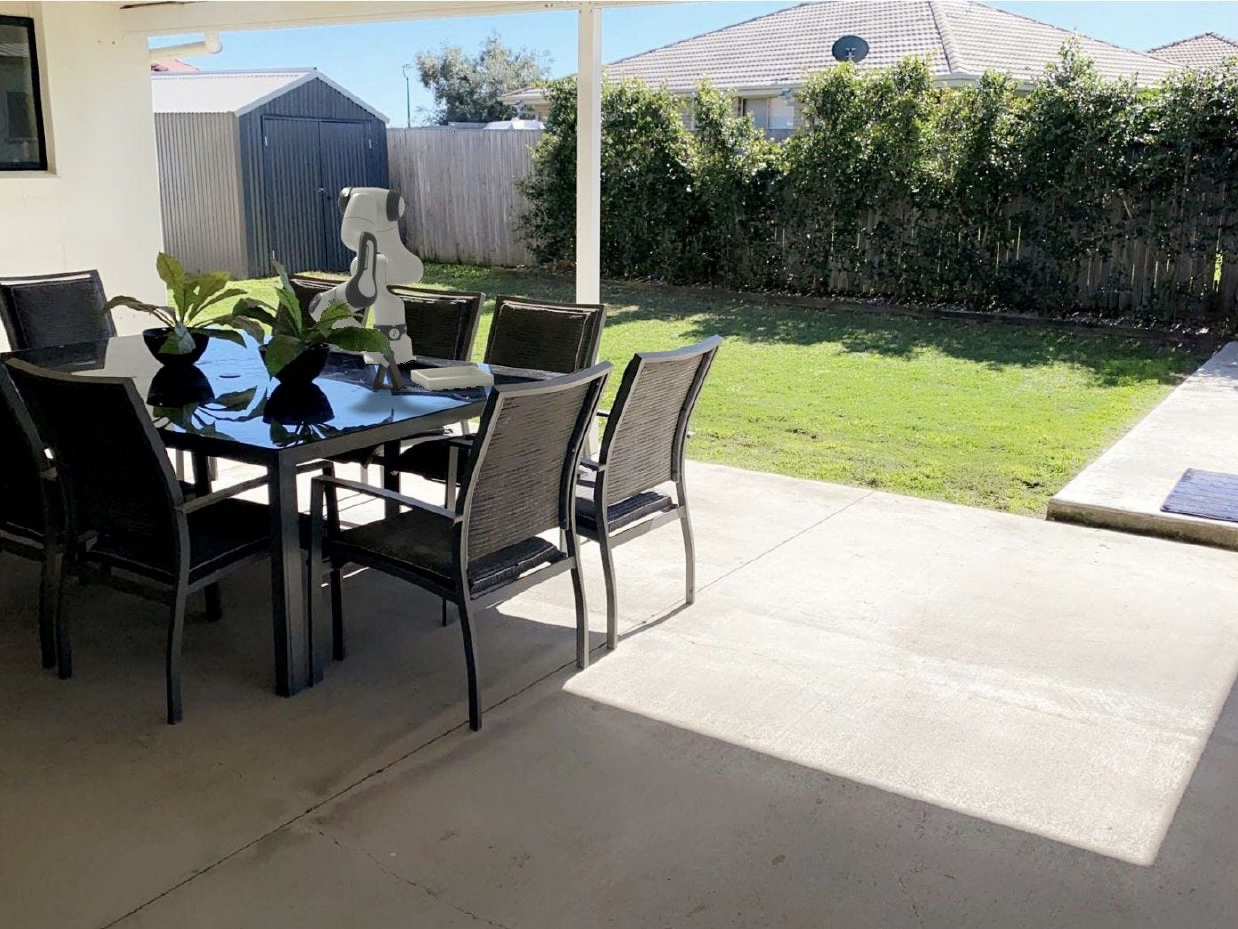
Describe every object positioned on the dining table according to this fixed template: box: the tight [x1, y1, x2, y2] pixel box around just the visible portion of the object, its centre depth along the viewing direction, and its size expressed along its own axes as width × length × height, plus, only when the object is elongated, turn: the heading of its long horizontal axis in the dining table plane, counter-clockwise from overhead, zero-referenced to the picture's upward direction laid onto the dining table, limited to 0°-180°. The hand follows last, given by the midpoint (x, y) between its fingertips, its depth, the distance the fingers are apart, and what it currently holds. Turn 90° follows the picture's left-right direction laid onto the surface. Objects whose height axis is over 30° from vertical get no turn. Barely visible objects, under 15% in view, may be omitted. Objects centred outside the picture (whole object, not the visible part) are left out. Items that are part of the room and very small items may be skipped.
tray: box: [410, 365, 495, 392], centre depth 384 cm, size 20×22×4 cm
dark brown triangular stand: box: [371, 350, 405, 390], centre depth 376 cm, size 9×6×12 cm, turn 82°
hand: (383, 363), depth 375 cm, fingers open, 8 cm apart
